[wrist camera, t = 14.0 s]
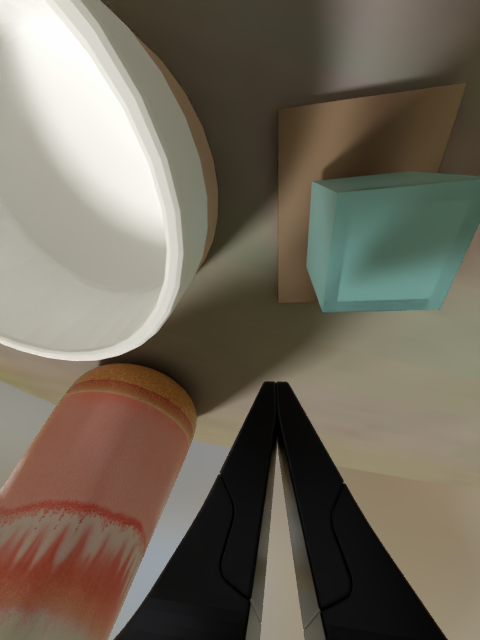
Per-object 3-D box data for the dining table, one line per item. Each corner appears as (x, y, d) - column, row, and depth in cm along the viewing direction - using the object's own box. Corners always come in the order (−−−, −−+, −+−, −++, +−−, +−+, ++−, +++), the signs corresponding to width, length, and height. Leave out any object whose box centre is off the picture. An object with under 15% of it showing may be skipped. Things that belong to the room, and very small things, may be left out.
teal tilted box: (409, 171, 13) (500, 177, 8) (385, 262, 16) (440, 309, 11) (311, 181, 13) (337, 192, 8) (306, 266, 16) (322, 312, 11)
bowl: (227, 300, 20) (206, 369, 14) (51, 296, 22) (-46, 356, 15) (204, -21, 11) (93, -339, 4) (-106, 16, 13) (-558, -159, 6)
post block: (456, 86, 12) (634, 15, 6) (391, 294, 18) (447, 354, 13) (278, 111, 13) (285, 72, 7) (278, 298, 20) (282, 354, 14)
